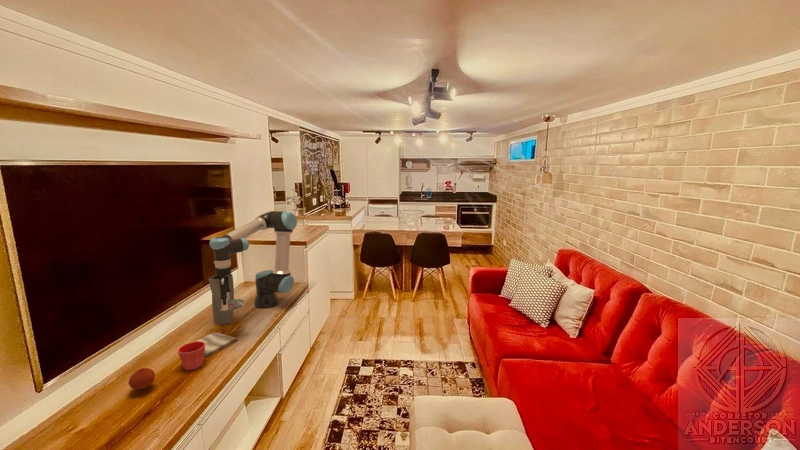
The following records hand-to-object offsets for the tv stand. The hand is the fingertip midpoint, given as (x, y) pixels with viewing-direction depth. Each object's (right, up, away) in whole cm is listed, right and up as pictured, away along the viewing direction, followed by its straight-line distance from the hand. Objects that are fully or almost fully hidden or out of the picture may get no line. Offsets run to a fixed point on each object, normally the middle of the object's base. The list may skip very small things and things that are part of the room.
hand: (226, 306), depth 176 cm
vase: (-12, -16, +21) cm, 29 cm away
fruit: (-15, -25, -38) cm, 48 cm away
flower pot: (-3, -23, -23) cm, 32 cm away
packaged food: (+1, -4, -1) cm, 4 cm away
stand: (-5, -20, -5) cm, 21 cm away
